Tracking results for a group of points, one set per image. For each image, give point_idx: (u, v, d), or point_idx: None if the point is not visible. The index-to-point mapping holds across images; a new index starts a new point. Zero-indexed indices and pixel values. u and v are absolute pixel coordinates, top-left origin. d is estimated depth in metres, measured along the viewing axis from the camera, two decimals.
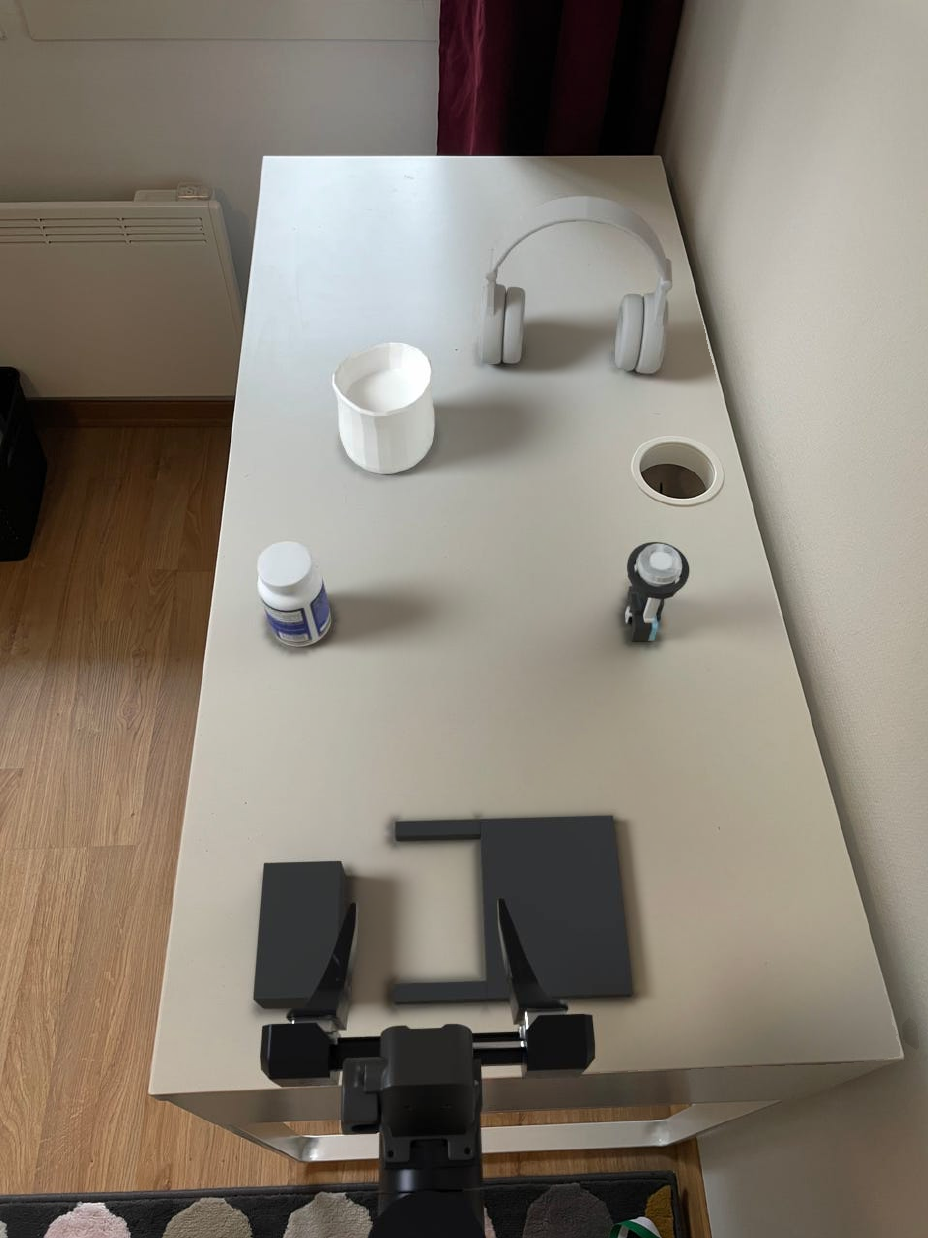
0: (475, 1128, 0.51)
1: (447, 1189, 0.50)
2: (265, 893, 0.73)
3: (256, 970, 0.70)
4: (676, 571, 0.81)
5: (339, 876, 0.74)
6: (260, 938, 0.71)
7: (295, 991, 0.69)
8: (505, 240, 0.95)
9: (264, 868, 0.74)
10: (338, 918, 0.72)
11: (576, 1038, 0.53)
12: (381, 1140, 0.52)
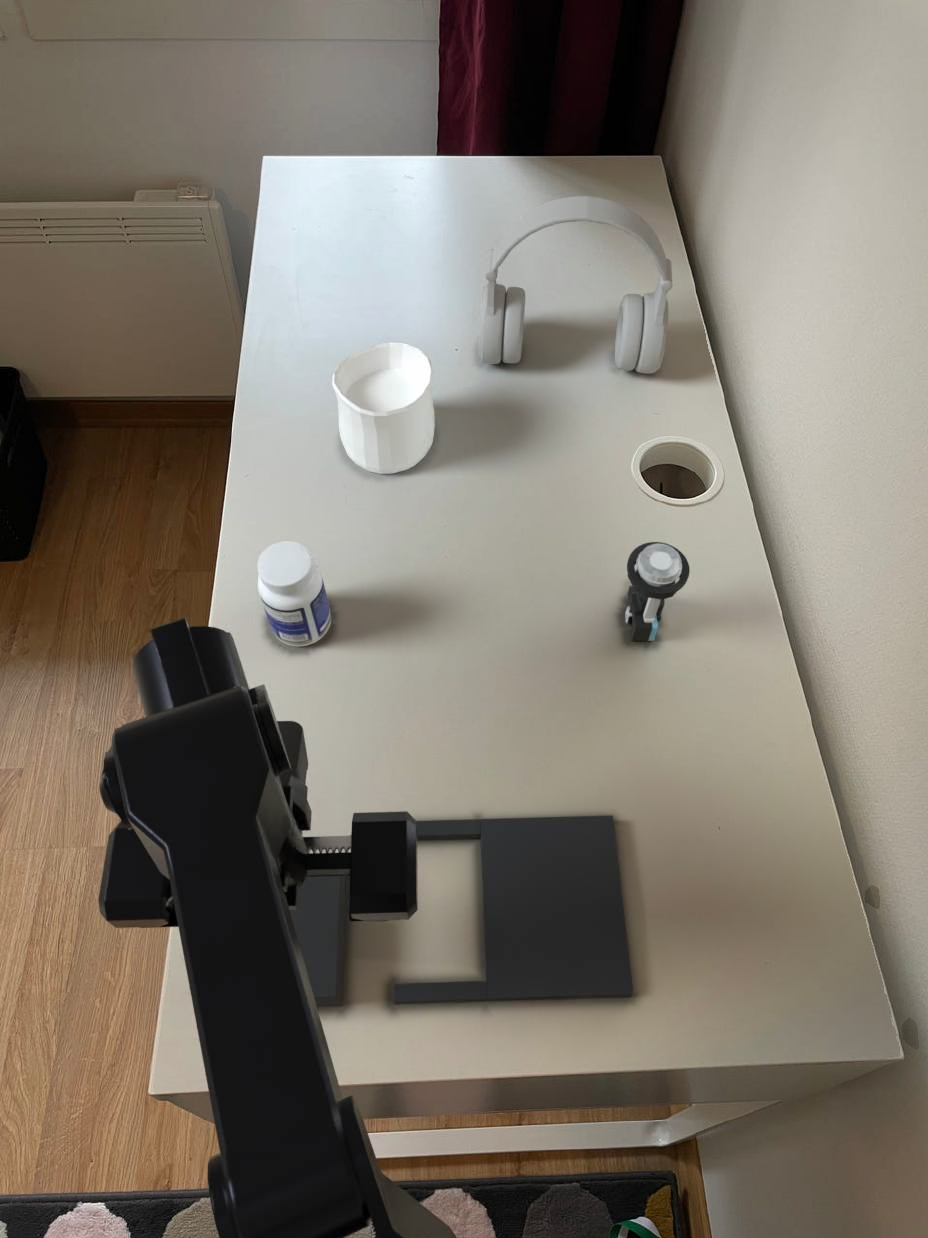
0: (296, 792, 0.56)
1: None
2: None
3: None
4: (676, 571, 0.81)
5: (339, 876, 0.74)
6: None
7: None
8: (505, 240, 0.95)
9: None
10: (338, 918, 0.72)
11: None
12: None
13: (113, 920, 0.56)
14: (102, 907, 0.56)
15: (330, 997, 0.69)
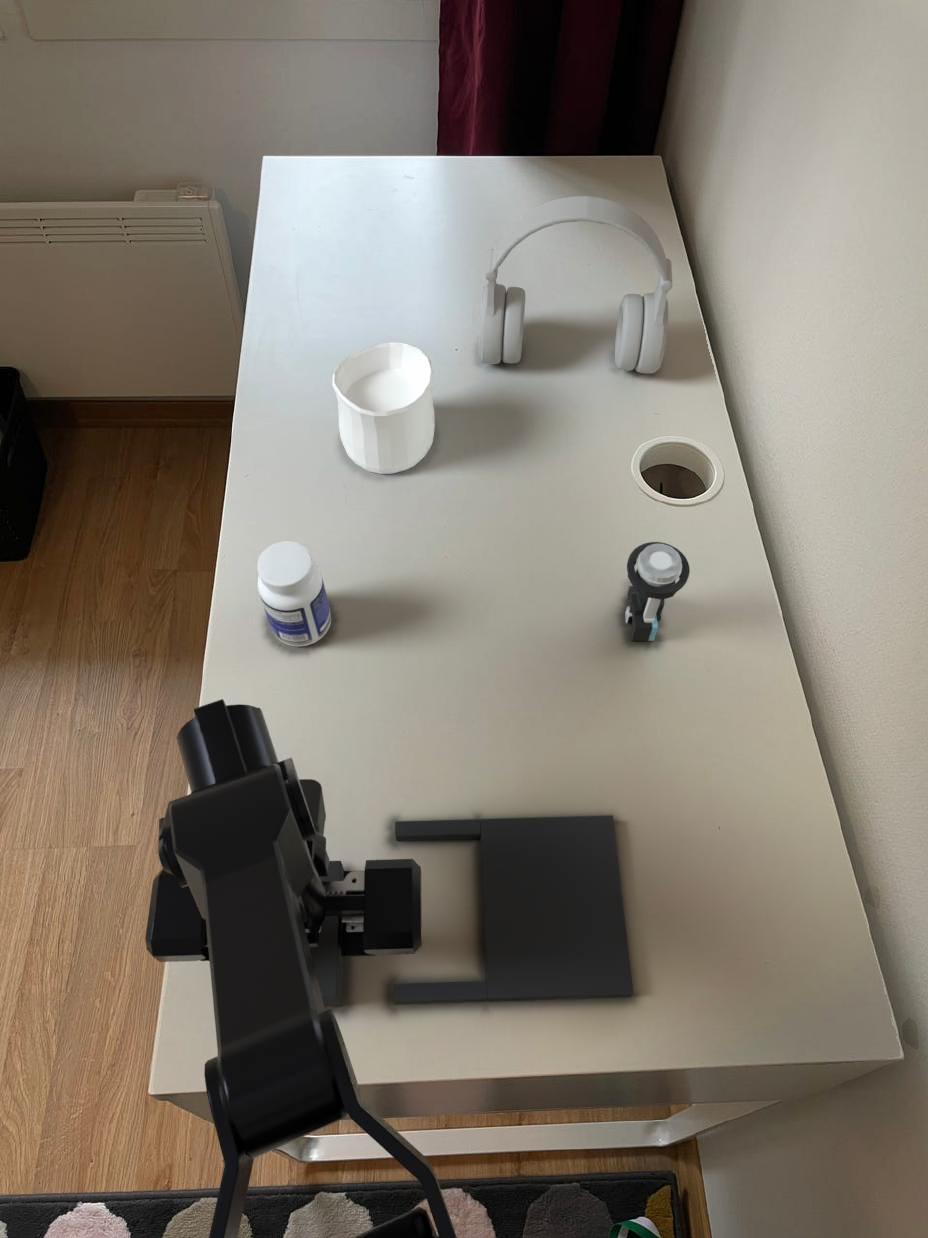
0: None
1: None
2: None
3: None
4: (676, 571, 0.81)
5: (339, 876, 0.74)
6: None
7: None
8: (505, 240, 0.95)
9: None
10: (338, 918, 0.72)
11: None
12: None
13: (158, 956, 0.64)
14: (149, 944, 0.64)
15: (330, 997, 0.69)
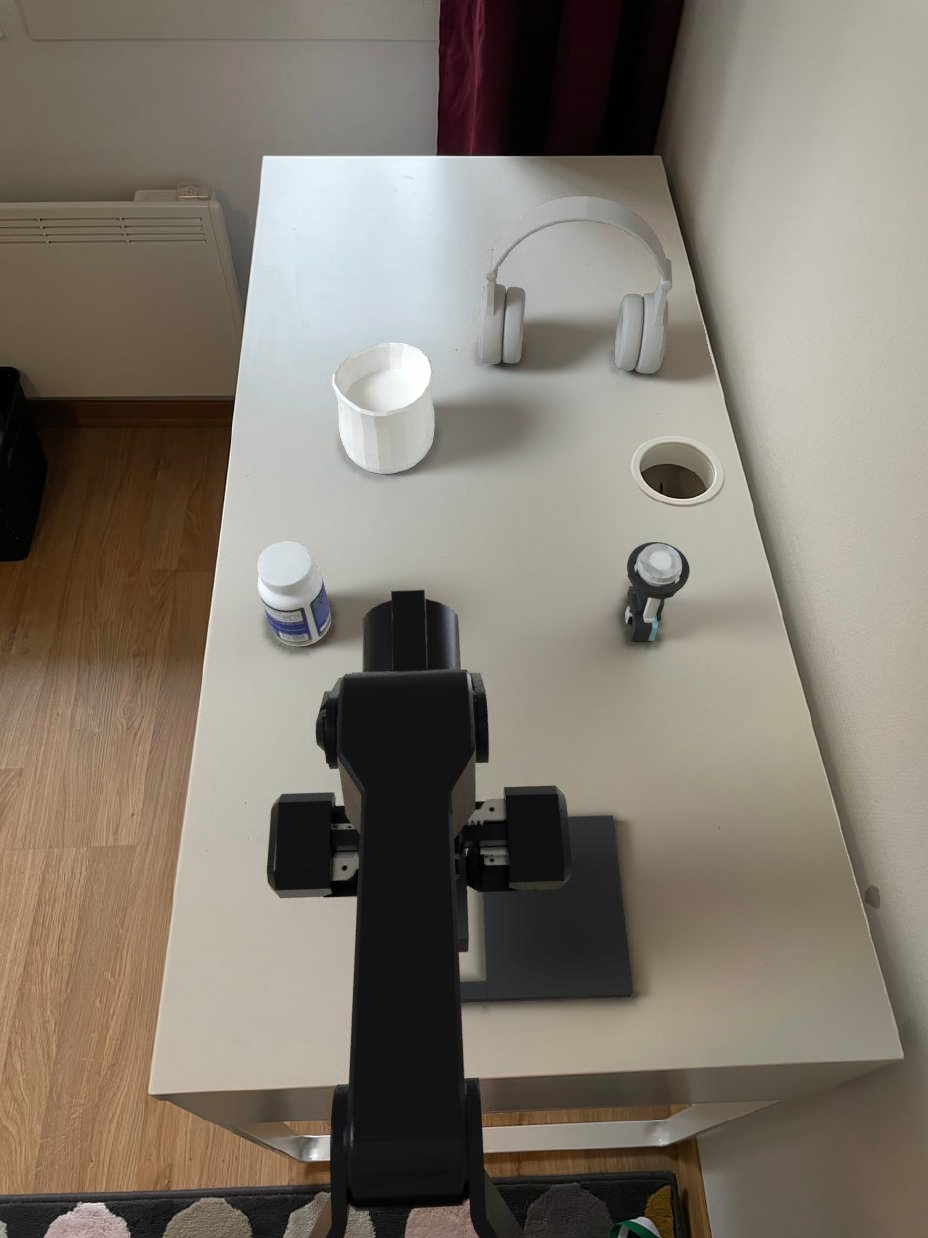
0: None
1: None
2: None
3: None
4: (676, 571, 0.81)
5: None
6: None
7: None
8: (505, 240, 0.95)
9: None
10: (465, 855, 0.66)
11: None
12: None
13: (282, 890, 0.58)
14: (271, 877, 0.58)
15: (462, 939, 0.63)
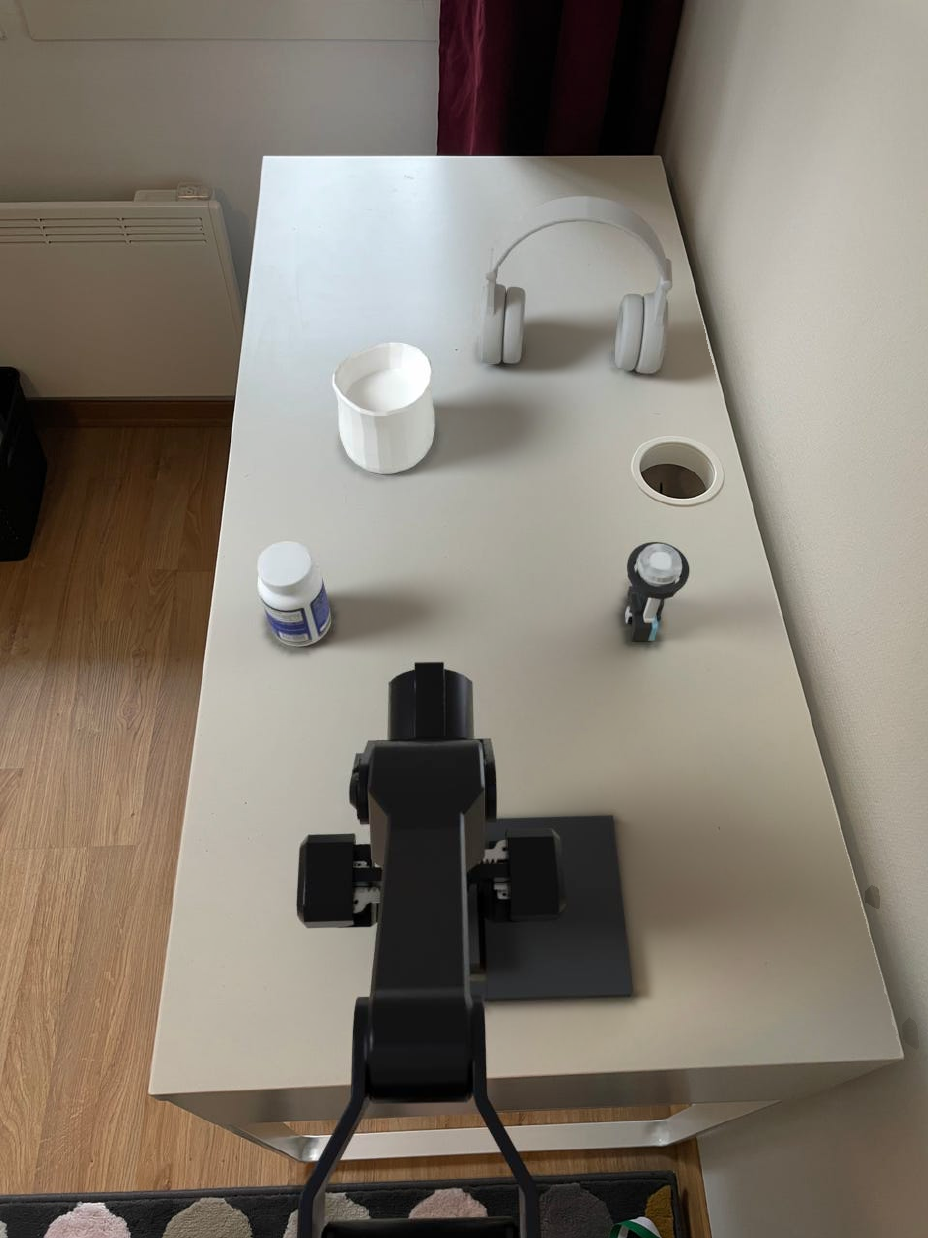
0: None
1: None
2: None
3: None
4: (676, 571, 0.81)
5: None
6: None
7: None
8: (505, 240, 0.95)
9: None
10: (476, 887, 0.73)
11: None
12: None
13: (310, 921, 0.66)
14: (300, 910, 0.66)
15: (473, 964, 0.70)
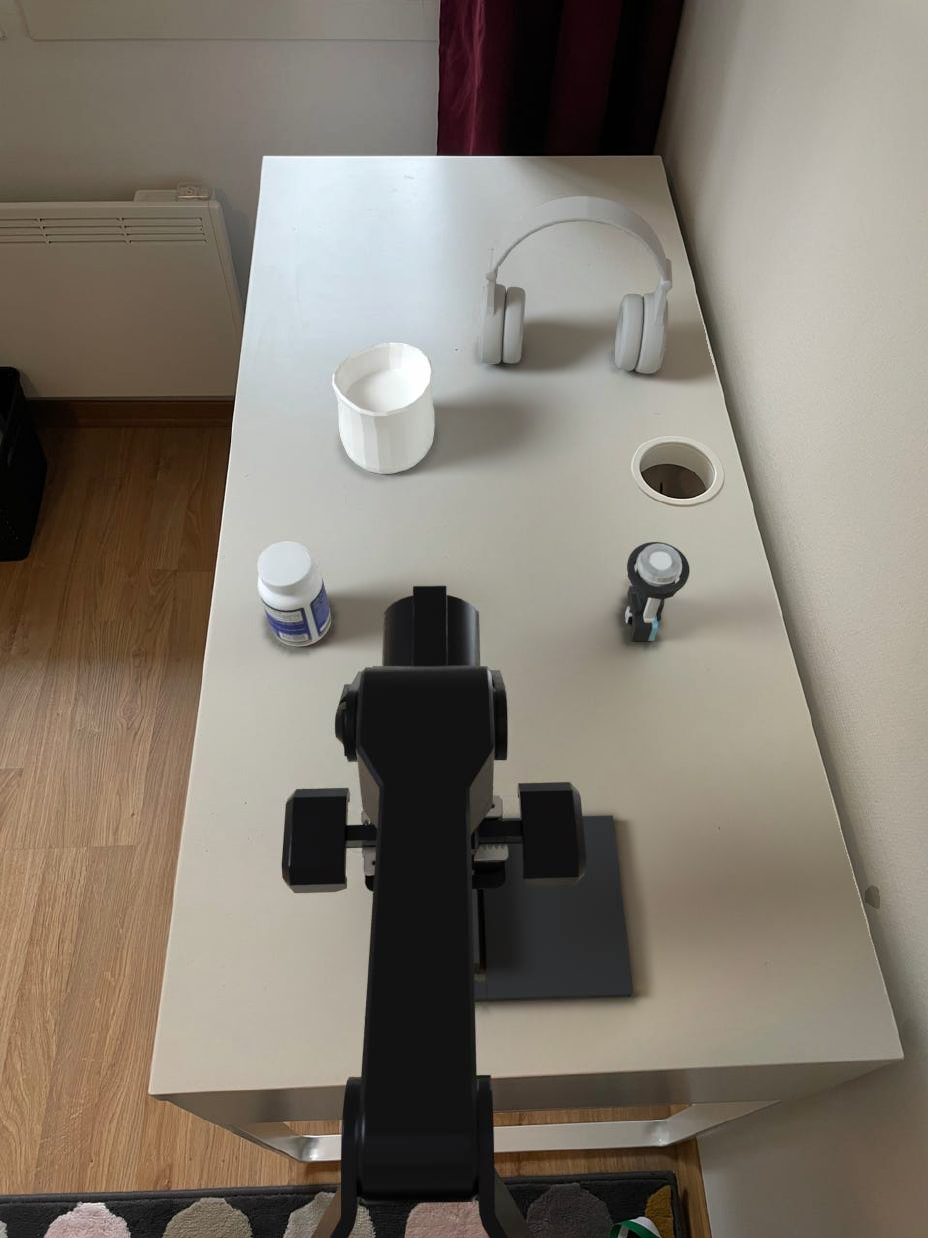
0: None
1: None
2: None
3: None
4: (676, 571, 0.81)
5: None
6: None
7: None
8: (505, 240, 0.95)
9: None
10: None
11: None
12: None
13: (296, 885, 0.58)
14: (286, 872, 0.58)
15: None
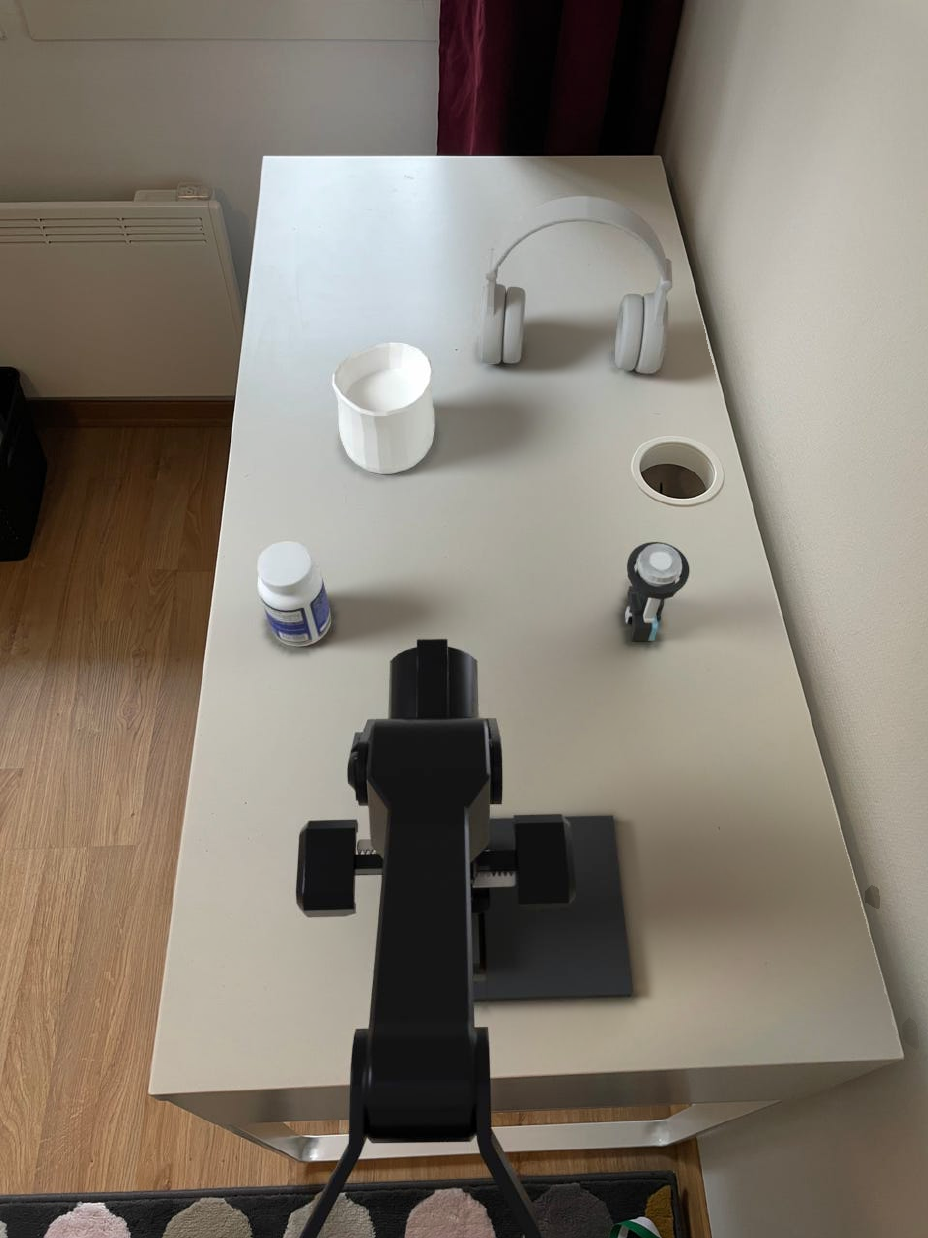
0: None
1: None
2: None
3: None
4: (676, 571, 0.81)
5: None
6: None
7: None
8: (505, 240, 0.95)
9: None
10: None
11: None
12: None
13: (309, 910, 0.63)
14: (300, 898, 0.63)
15: (473, 963, 0.70)
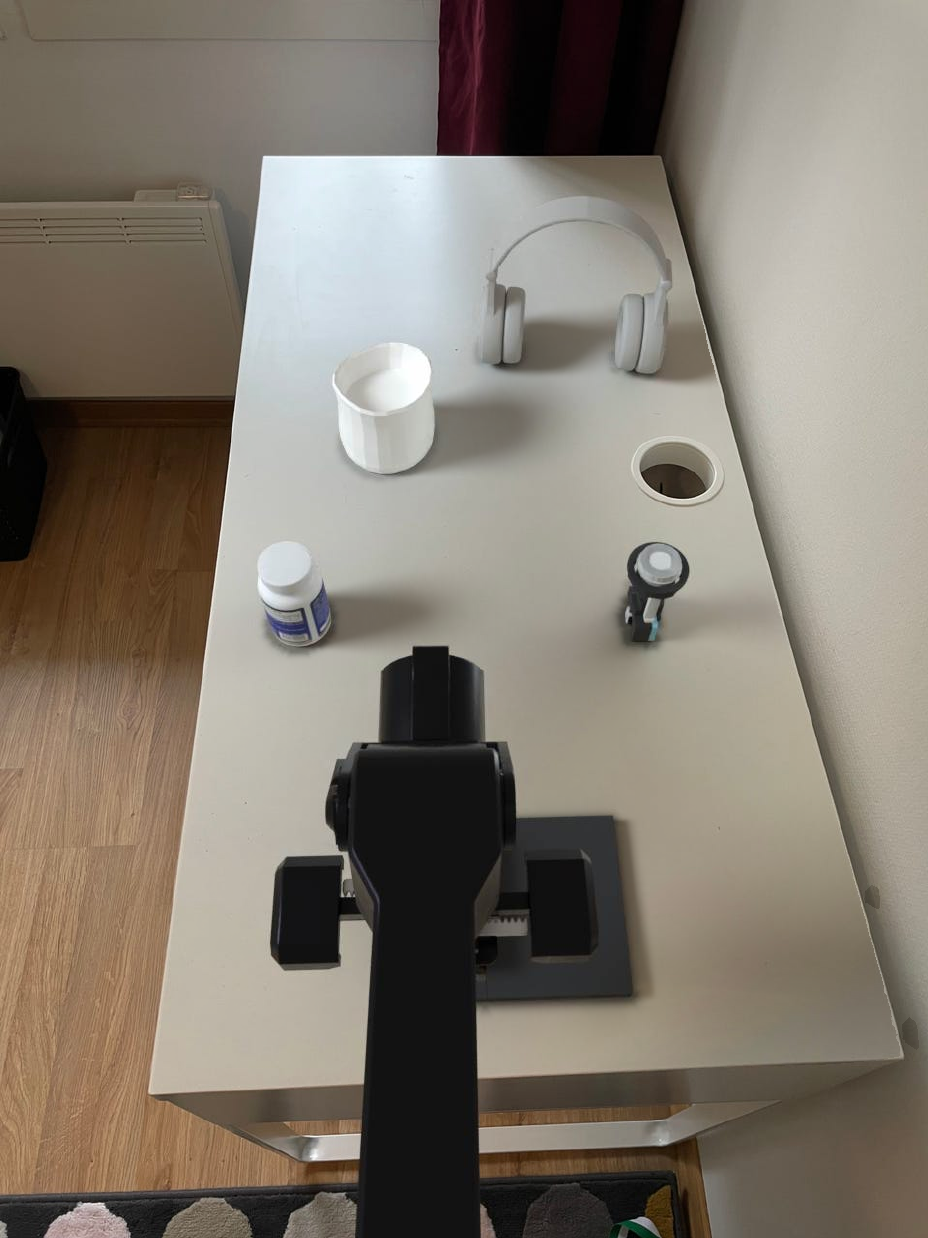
0: None
1: None
2: None
3: None
4: (676, 571, 0.81)
5: None
6: None
7: None
8: (505, 240, 0.95)
9: None
10: None
11: None
12: None
13: (286, 964, 0.54)
14: (275, 950, 0.54)
15: None
